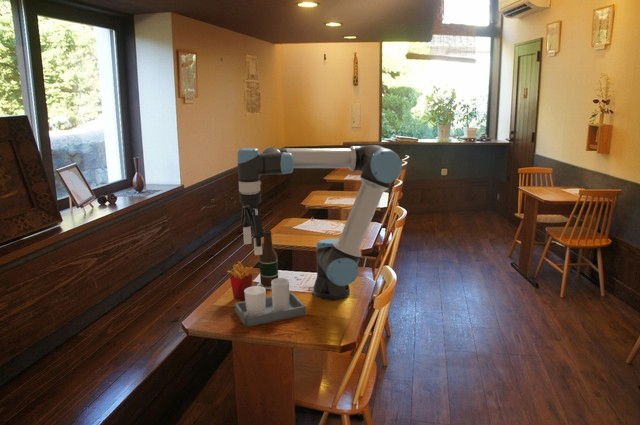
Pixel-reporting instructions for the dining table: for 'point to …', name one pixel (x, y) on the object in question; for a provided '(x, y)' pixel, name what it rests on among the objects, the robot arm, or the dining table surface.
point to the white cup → (255, 300)
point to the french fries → (240, 281)
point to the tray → (271, 312)
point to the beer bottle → (268, 261)
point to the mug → (280, 294)
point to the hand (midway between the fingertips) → (253, 249)
